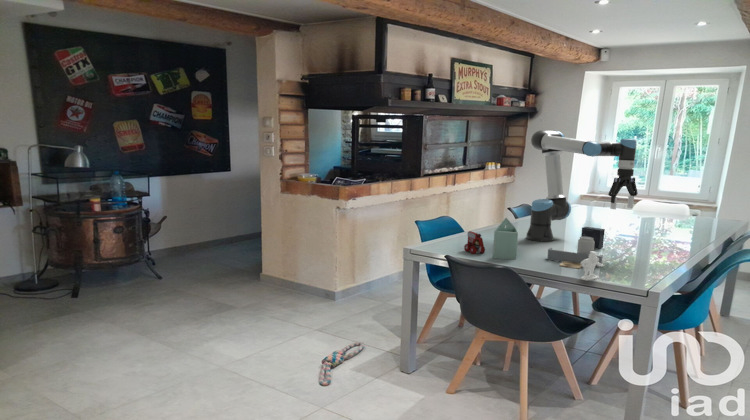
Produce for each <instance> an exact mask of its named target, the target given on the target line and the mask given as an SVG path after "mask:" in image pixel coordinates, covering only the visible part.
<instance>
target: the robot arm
mask: <svg viewBox="0 0 750 420" xmlns="http://www.w3.org/2000/svg"><path fill="white" fill-rule="evenodd" d="M530 142H531V143H530V144H531V145H532V147H533V148H534V149H536V150H540V151H541V154H542V155H543V156H544V158H545V159H544V160H545V171H546V172H545V174H546V183H547V184H546V185H547V186H546V187H547V197H546V198H542V199H541V198H539V199H535V200H533V201H532V203H531V206H530V224H529V227H528V229H527V232H526V235H525V237H526V239H527V240H530V241H535V242H552V241H553V240H554V234H553V230H552V221H561V220H564V219H567V218H568V217H569V216H570V214H571V211H572V206H571V203H570V202H569V201H567V197H566V195H565V194H564V190H563V189H564V188H563V176H562V163H561V162H562V161H561V154H562V153H563V152H568V153H574V154H578V155H579V154H580V155H586V156H587V157H617V158H618V162H617V163H618V164H617V172H616V174H617V175H616V176H617V177H614V178H613V182H612V185H611V187H610V190H609V192H608V196H609V197H610V209H611V210H617V201H618V196H617V195H618V194H619V192H620V191H621V189H622V188H624V187H626V190H627V192H628V198H627V205H626V206H627V208H629V209H633V207H634V201H635V197H636V196H637V195H638V194H639V193H638V188H637V185H636V184H637V183H636V177H633V176H634V170H635V169H634V168H635V159H636V151H637V140H636V139H635V138H621V139H620V141H619V142H615V141H614V142H613V141H593V140H585V139H578V138H571V137H566V136H565V135H564V134H563V133H562V132H561V131H558V130H548V129H547V130H545V129H544V130H543V129H542V130H538V131H535V132H534V133H533V135H531V139H530Z"/></svg>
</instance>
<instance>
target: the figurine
mask: <svg viewBox="0 0 750 420" xmlns="http://www.w3.org/2000/svg"><path fill="white" fill-rule="evenodd" d="M599 255H600V254H599V252H596V251H595V250H594V251H590V254H589V258H587V259H584V260H583V261H582V262H581V265H582V269H583V271H584V274H583V276H581V277H580V280H583V281H594V279H595V280H598V279H599V277H600V276H598V275H596V274H595V268H596V265H598V266H601V268H602V267H604V266H605V265H606V264H605V263H602V264H601V263H599V262H598V261H599V258H597V256H599ZM588 274H589V275H588Z"/></svg>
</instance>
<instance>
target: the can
mask: <svg viewBox="0 0 750 420" xmlns="http://www.w3.org/2000/svg"><path fill="white" fill-rule="evenodd" d="M594 244H595V241H594V240H593V238H591V237H581V236H580V237H579V238H578V240H577V248H576V249H577V250H576V253H581V254H590V251H594V252H595V248H594Z"/></svg>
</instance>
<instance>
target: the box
mask: <svg viewBox="0 0 750 420" xmlns="http://www.w3.org/2000/svg"><path fill="white" fill-rule="evenodd" d="M605 231H606V229H605V228H599V227H592V226H591V227H590V226H584V227H581V235H580V237H591V238H593V240H594V241H595V244H594V249H599V250H600V249H601V248H603V247H604V240H605V238H604V237H605Z"/></svg>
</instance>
